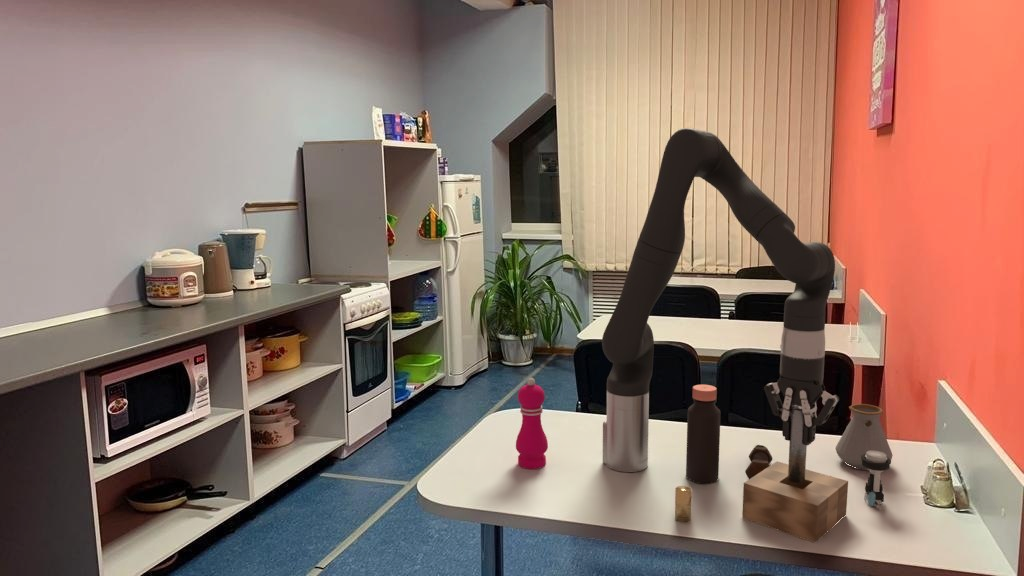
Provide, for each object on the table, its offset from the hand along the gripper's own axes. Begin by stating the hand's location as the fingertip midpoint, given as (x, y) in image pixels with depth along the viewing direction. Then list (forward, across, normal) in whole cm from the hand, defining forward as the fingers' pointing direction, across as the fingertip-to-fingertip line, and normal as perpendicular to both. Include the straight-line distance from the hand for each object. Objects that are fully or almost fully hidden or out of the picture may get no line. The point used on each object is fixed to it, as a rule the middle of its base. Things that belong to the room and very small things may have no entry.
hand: (798, 441), depth 140 cm
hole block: (+15, 0, 0) cm, 15 cm away
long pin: (+8, 0, 0) cm, 8 cm away
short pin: (+15, +15, +15) cm, 26 cm away
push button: (+15, -9, -16) cm, 24 cm away
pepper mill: (+15, +54, +15) cm, 58 cm away
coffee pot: (+15, -2, -30) cm, 34 cm away
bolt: (+15, +14, -16) cm, 26 cm away
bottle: (+15, +22, -4) cm, 27 cm away
